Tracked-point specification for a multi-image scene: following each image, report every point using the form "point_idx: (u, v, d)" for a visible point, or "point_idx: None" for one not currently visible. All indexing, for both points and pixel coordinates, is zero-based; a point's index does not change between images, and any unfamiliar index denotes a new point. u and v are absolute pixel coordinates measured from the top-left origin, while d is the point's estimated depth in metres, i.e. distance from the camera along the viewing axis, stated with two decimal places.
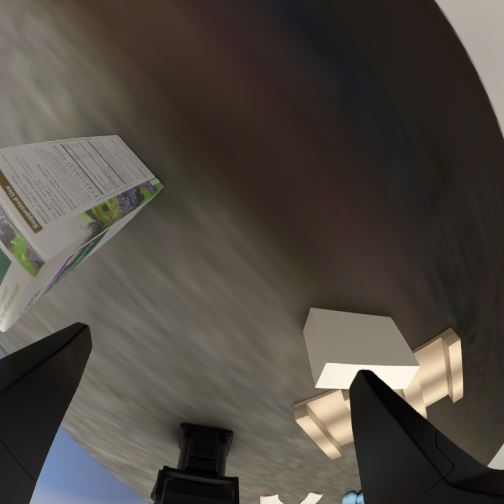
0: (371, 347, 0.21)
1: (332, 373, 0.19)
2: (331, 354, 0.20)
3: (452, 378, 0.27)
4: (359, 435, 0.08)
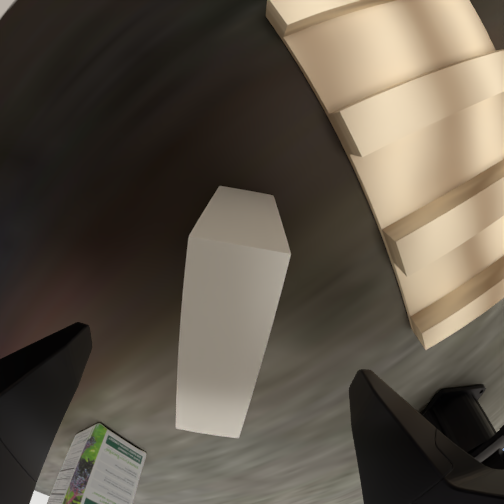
0: None
1: (201, 422, 0.10)
2: None
3: None
4: (359, 435, 0.08)
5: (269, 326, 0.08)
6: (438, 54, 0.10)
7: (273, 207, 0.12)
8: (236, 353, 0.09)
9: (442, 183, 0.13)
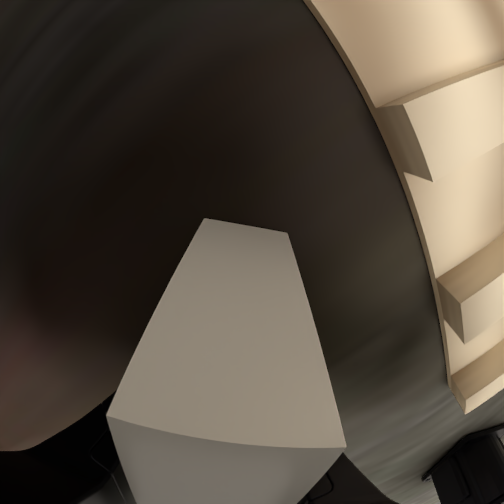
0: None
1: None
2: None
3: None
4: None
5: None
6: None
7: (291, 266, 0.07)
8: None
9: None
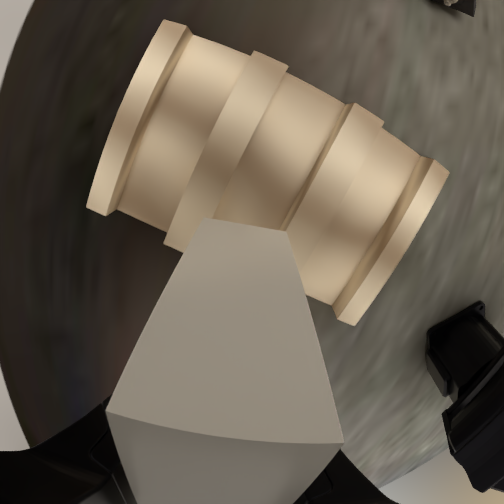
0: None
1: None
2: None
3: (139, 118, 0.15)
4: None
5: None
6: (206, 124, 0.16)
7: (290, 265, 0.07)
8: None
9: (277, 212, 0.18)
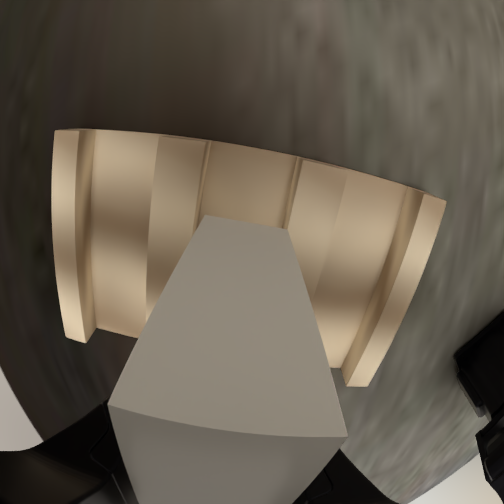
0: None
1: None
2: None
3: (74, 249, 0.13)
4: None
5: None
6: (145, 230, 0.15)
7: (291, 261, 0.07)
8: None
9: None
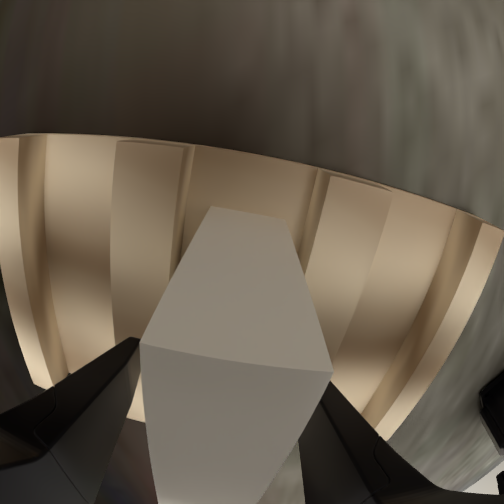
0: None
1: None
2: None
3: (26, 290, 0.09)
4: (302, 436, 0.08)
5: (285, 454, 0.04)
6: None
7: (288, 244, 0.08)
8: (233, 475, 0.05)
9: None
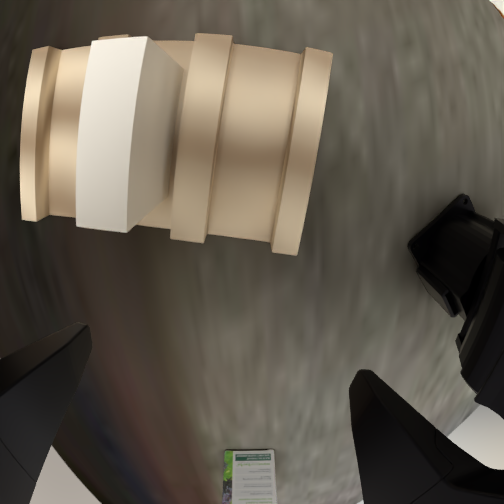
0: None
1: (94, 211, 0.11)
2: None
3: (35, 131, 0.15)
4: (359, 435, 0.08)
5: (136, 88, 0.10)
6: None
7: None
8: (115, 116, 0.10)
9: (172, 164, 0.17)
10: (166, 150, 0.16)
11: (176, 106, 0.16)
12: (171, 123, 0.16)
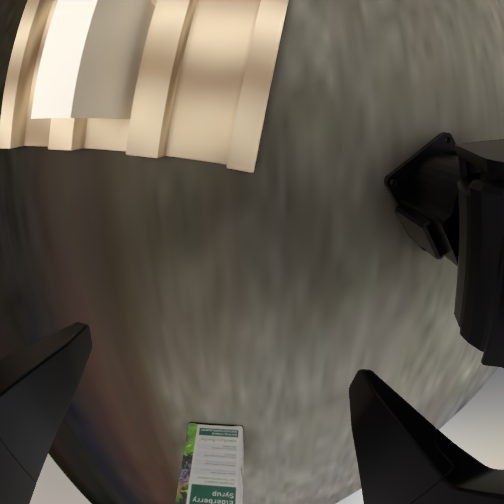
0: None
1: (47, 102, 0.10)
2: None
3: (20, 65, 0.13)
4: (359, 435, 0.08)
5: None
6: None
7: None
8: (76, 20, 0.08)
9: None
10: (130, 71, 0.14)
11: (145, 36, 0.14)
12: (137, 49, 0.14)
